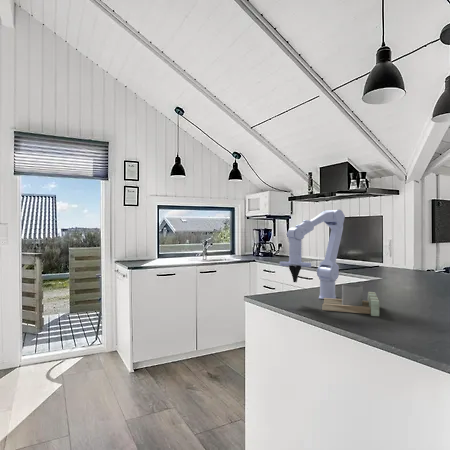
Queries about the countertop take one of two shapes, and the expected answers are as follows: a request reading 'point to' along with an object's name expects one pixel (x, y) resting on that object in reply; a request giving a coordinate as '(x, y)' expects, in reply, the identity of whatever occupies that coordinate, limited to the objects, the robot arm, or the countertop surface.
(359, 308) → the wooden tray
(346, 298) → the cup
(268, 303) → the countertop surface
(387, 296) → the countertop surface
